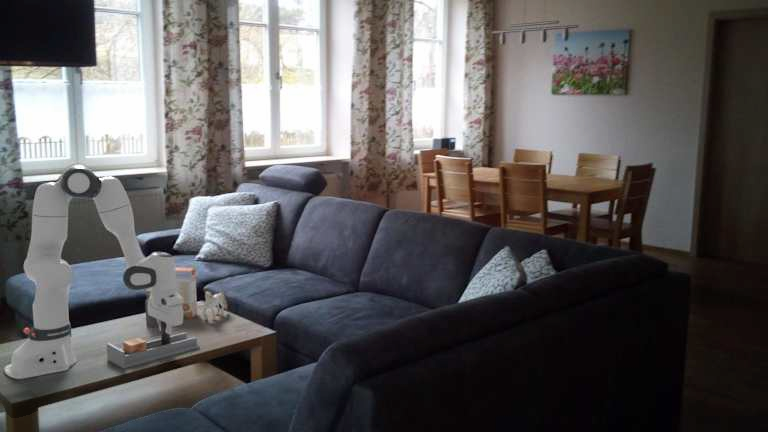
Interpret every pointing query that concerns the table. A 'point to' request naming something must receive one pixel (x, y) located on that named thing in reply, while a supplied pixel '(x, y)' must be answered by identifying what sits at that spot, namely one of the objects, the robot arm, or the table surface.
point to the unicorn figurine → (214, 303)
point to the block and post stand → (140, 344)
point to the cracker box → (187, 290)
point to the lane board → (151, 351)
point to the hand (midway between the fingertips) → (165, 331)
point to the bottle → (149, 319)
